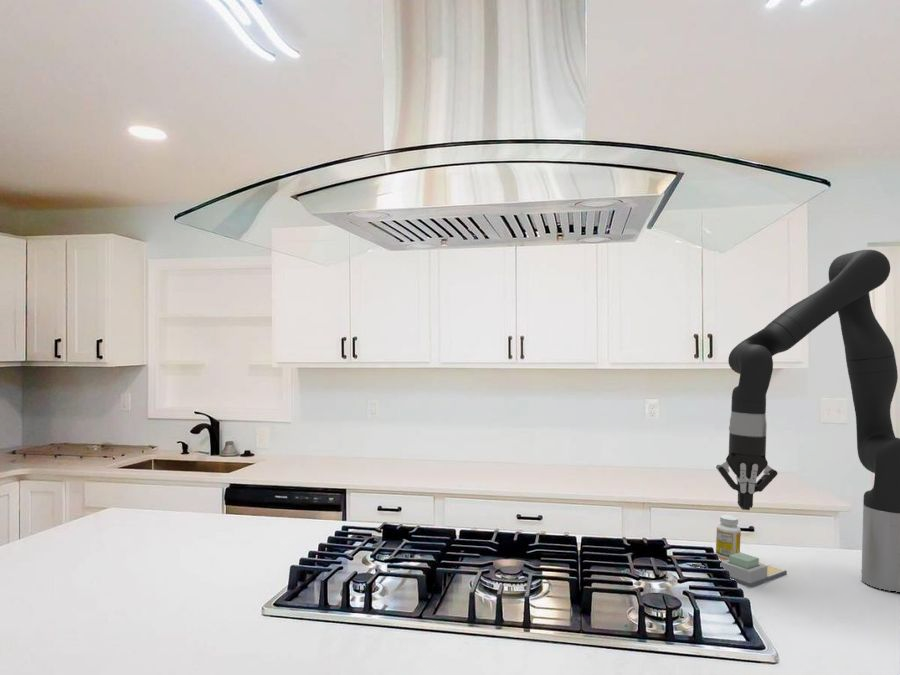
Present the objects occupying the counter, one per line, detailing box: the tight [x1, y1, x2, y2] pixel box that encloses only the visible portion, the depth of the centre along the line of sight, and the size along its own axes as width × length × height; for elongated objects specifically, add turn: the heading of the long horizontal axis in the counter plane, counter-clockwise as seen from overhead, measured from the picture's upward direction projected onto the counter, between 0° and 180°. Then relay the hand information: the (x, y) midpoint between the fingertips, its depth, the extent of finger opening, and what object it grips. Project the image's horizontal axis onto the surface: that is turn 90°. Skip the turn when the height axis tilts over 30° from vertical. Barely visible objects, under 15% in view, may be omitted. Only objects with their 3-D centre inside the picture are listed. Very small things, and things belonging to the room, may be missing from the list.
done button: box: [729, 551, 760, 570], centre depth 139 cm, size 4×4×2 cm
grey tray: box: [691, 551, 788, 588], centre depth 144 cm, size 16×15×3 cm
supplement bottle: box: [715, 514, 742, 560], centre depth 150 cm, size 5×5×10 cm
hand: (745, 508), depth 139 cm, fingers closed
